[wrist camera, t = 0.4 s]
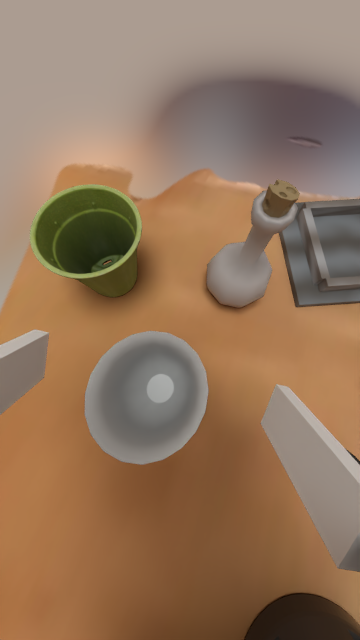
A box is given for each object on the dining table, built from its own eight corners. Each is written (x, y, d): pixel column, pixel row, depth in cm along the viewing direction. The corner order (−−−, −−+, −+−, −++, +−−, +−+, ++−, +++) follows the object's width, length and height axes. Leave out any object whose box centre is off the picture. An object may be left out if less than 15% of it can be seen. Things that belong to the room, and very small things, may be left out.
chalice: (162, 349, 31) (140, 309, 14) (202, 379, 30) (232, 374, 13) (129, 393, 29) (57, 410, 12) (170, 426, 28) (154, 496, 11)
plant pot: (120, 327, 32) (90, 299, 21) (61, 284, 34) (5, 238, 23) (168, 268, 35) (163, 216, 24) (111, 231, 36) (82, 167, 26)
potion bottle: (192, 287, 34) (205, 187, 16) (229, 251, 35) (276, 125, 18) (236, 325, 32) (302, 259, 15) (272, 285, 34) (370, 183, 16)
